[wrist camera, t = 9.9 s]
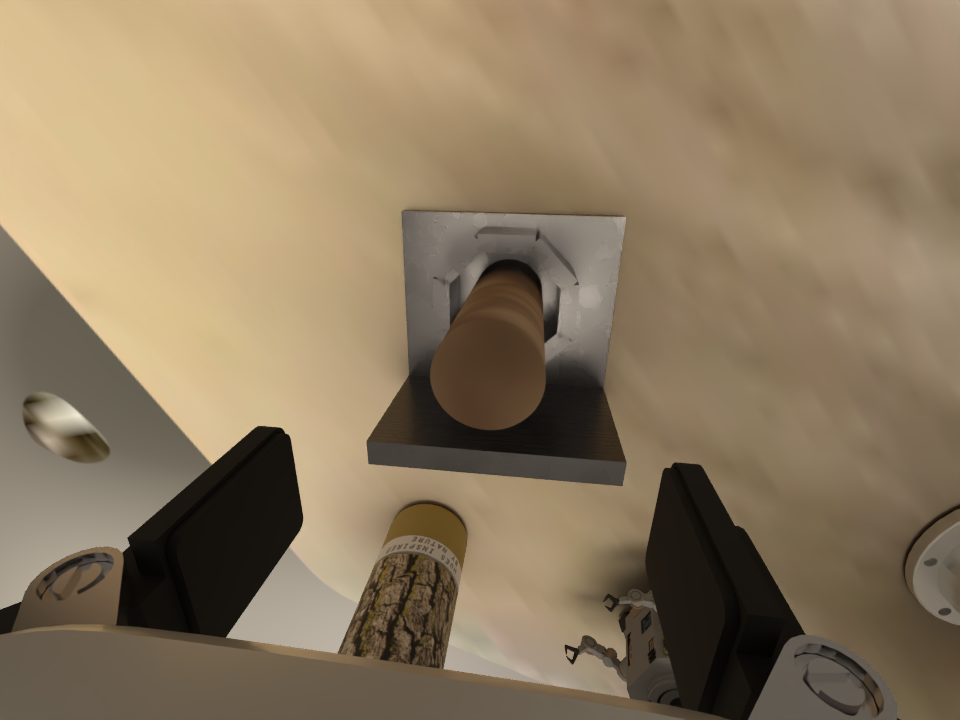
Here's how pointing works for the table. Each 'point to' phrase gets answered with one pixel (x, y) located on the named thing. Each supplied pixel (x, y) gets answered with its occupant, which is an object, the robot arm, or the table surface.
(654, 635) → the figurine
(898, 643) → the table surface
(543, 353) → the brown wooden cylinder
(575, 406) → the bracket
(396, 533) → the paper tube
